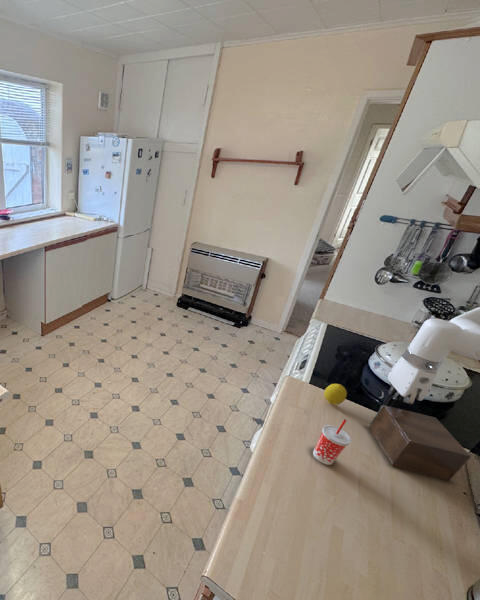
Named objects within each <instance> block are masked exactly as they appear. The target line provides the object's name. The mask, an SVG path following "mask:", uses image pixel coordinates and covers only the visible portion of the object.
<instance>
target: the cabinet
mask: <svg viewBox="0 0 480 600" xmlns="http://www.w3.org/2000/svg"><path fill="white" fill-rule="evenodd" d="M382 405H383V404H382ZM379 410H380V409H379ZM377 413H378V412H377ZM375 416H376V415H375ZM373 419H374V418H373ZM371 422H372V421H371ZM368 430H369V432H370V433H371V435H372V437H373V438H374V440H375V441H376V443H377V445H378V446H379V448H380V449H381V451H382V452H383V454H384V456H385V457H386V459H387V461H388V462H389V464H390V465H391V466H392V467H395V468H399V469H402V470H406V471H410V472H413V473H418V474H421V475H423V476H427V477H431V478H435V479H438V480H442V481H445V482H450V481H451V480H452V479H453V477H454V476H455V475H456V474H458V472H459V471H460V470H461V468H462V467H463V466H464V465H465V464H466V463H467V462H468V461H469V460H470V459H471V457H472V456H471V455H470V453H468V451H467V450H466V449H465V448H464V447H463V446H462V444H460V443H459V441H457V439H456V438H455V437H454V436H453V435H452V434H451V432H449V431H448V429H447V428H446V427H445V426H444V425H443V424H442V423H441V422H440V420H439V419H438V418H437V417H436V416H435V417H434V416H429V415H426V414H422V413H418V412H414V411H410V410H407V409H406V410H405V409H402V408H394V407H389V406H385V405H383V407H382V408H381V410H380V412H379V413H378V415H377V416H376V418H375V419H374V421H373V422H372V424H371V423H370V426H368Z"/></svg>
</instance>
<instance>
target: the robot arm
mask: <svg viewBox="0 0 480 600" xmlns="http://www.w3.org/2000/svg"><path fill="white" fill-rule="evenodd" d="M450 353H455V354H457V355H460V356H463V357H466V358H468V359H471V360H475V361H480V306H479V307H476V308H473V309H471V310H469V311H466V312H464V313H461V314H460V315H457V316H455V317H453V318H451V319H450V320H445V319H441V318H428V319H426V320H425V321H424V322H423V323H422V325H421V326H420V328H419V329H418V331H417V333H416V334H415V336H414V338H413V339H412V341H410V343H409V345H408V347H407V348H406V350H405V352H404V353H403V355H402V356H401V357H400V358H399V359H398V360H397V361H396V363H395V364H394V365H393V366H392V368H391V370H390V371H389V372H388V375H387V380H388V383H389V386H390V387H389V390H388V393H387V396H386V397H385V398H384V401H383V402H382V405H385V406H389V407H394V408H398V409H400V407H401V406H402V404H403V403H405V404H409V405H413V404H414V402H415V400H417V401H419V402H421V401H424V400H425V398H426V396H427V395H428V393H429V392H430V389H431V388H432V386H433V384H434V382H435V380H436V377H437V371H438V369H439V368H440V367H441V366H442V364H443V362H444V361H445V360H446V358H447V357H448V356H449V354H450Z"/></svg>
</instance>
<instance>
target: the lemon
mask: <svg viewBox="0 0 480 600" xmlns="http://www.w3.org/2000/svg"><path fill="white" fill-rule="evenodd" d="M347 395H348V392H347V389H346V388H345V386H344V385H342V384H340V383H331V384H329V385H328V386H326V388H325V389H324V393H323V396H324V399H325V400H326V401H327V402H328V403H329V404H330V405H340V404H342V403H343V402H345V401H346V399H347Z"/></svg>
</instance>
